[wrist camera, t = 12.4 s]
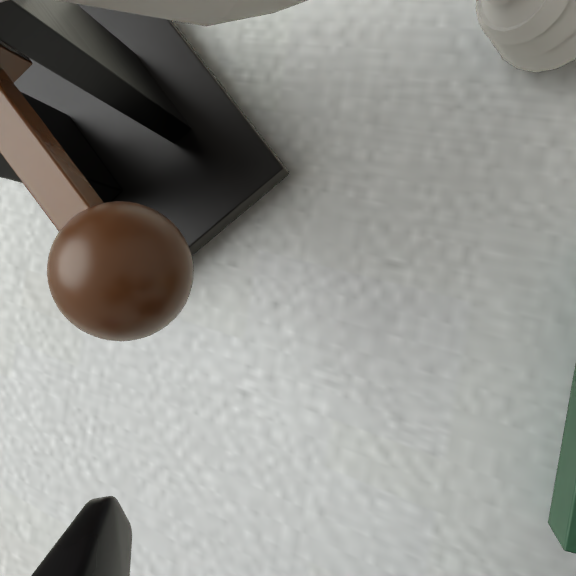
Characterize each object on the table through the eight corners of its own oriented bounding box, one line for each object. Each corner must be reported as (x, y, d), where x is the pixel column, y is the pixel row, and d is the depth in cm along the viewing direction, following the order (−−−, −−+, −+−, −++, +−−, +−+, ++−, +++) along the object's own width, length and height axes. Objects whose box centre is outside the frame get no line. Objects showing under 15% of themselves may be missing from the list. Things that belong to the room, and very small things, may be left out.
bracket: (290, 173, 22) (166, 58, 11) (136, 302, 24) (-112, 320, 13) (131, -31, 24) (-124, -319, 12) (-3, 103, 26) (-339, -43, 14)
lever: (236, 280, 15) (191, 288, 12) (144, 354, 16) (75, 383, 12) (8, -17, 16) (-100, -96, 12) (-71, 65, 16) (-195, 14, 13)
